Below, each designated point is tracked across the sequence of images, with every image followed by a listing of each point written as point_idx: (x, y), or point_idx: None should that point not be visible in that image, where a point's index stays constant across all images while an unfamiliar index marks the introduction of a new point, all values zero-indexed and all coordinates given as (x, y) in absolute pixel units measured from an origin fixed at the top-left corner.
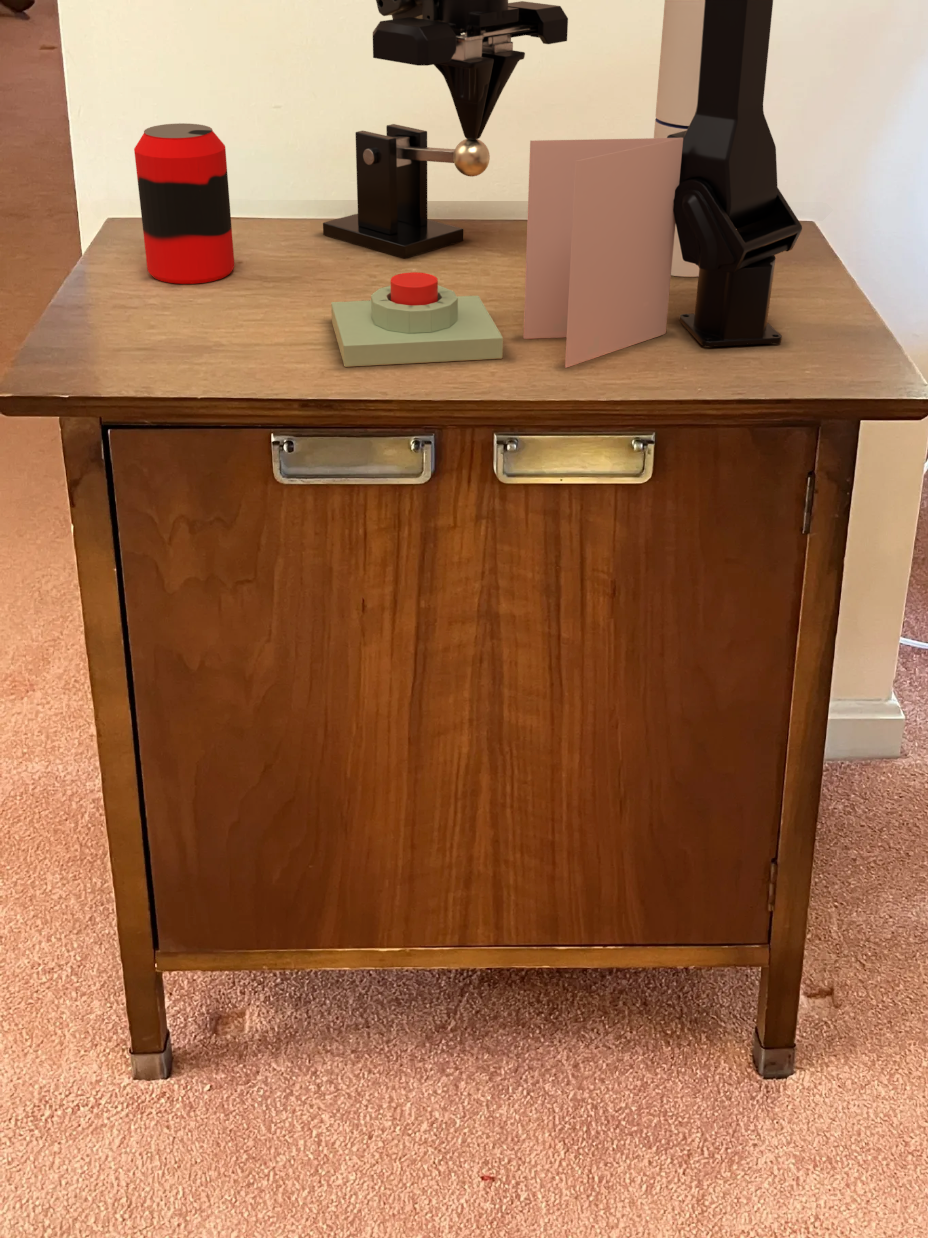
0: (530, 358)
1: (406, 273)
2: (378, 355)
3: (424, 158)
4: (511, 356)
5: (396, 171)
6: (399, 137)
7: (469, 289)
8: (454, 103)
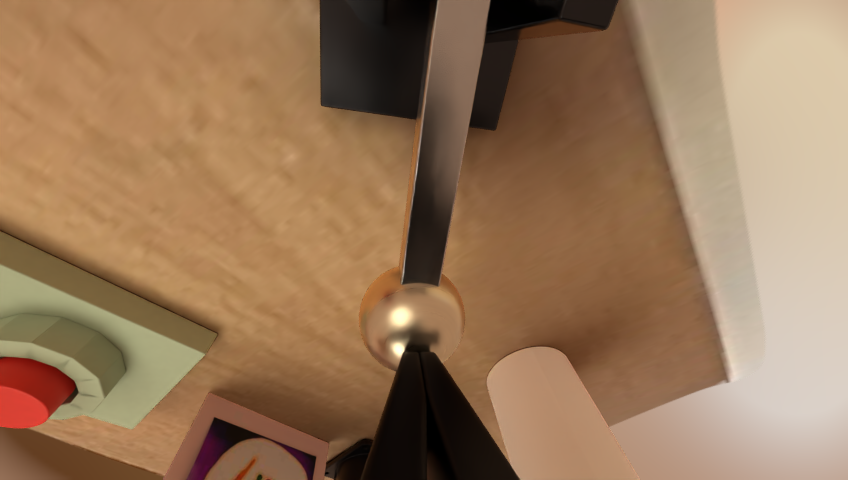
0: (176, 416)
1: (2, 390)
2: None
3: (415, 134)
4: (162, 406)
5: (381, 7)
6: None
7: (287, 274)
8: (363, 472)
